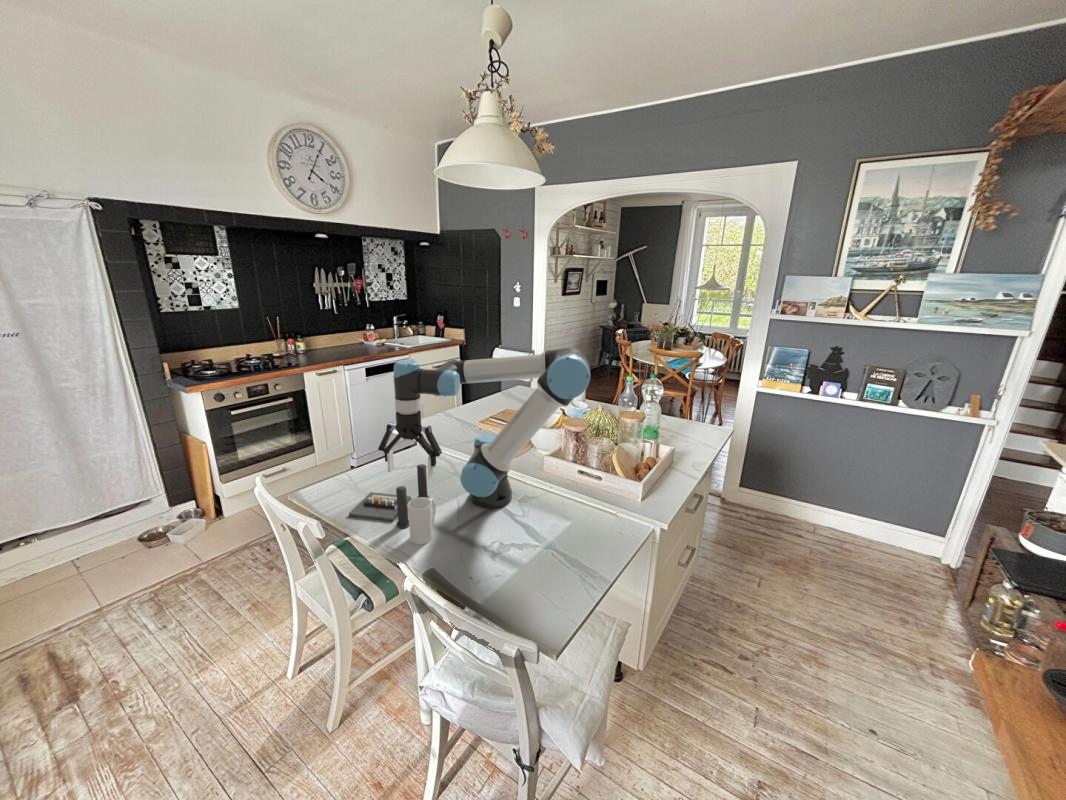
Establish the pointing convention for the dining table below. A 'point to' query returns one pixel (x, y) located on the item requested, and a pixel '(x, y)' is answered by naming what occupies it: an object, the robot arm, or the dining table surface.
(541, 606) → the dining table surface
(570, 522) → the dining table surface
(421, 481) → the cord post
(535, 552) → the dining table surface
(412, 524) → the mug
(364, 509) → the breaker panel
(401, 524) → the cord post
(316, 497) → the dining table surface
